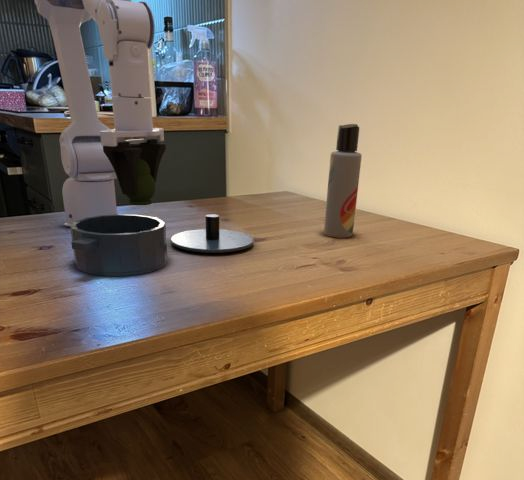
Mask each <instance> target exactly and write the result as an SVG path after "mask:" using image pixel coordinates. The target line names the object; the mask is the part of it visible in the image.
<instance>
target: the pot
mask: <svg viewBox="0 0 524 480" xmlns="http://www.w3.org/2000/svg"><path fill="white" fill-rule="evenodd" d="M166 228H167V227H166V222H165V221H164V220H162V219H160V218H159V217H157V216H150V215H141V214H126V213H125V214H123V213H121V214H120V213H117V214H116V215H101V216H94V217H87V218H84V219H80V220H77V221H75V222H73V223H72V224H71V225H70V227H69V229H70V235H71V249H72V250H73V256H74V262H75V266H76V268H77V269H78V270H79V271H81V272H83V273H85V274H90V275H95V276H104V277H128V276H129V277H130V276H138V275H144V274H147V273H148V274H149V273H152V272H155V271H158V270H160V269H162V268H163V267H165V266H166V264H167V262H168V260H167V259H168V245H167V229H166Z"/></svg>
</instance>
